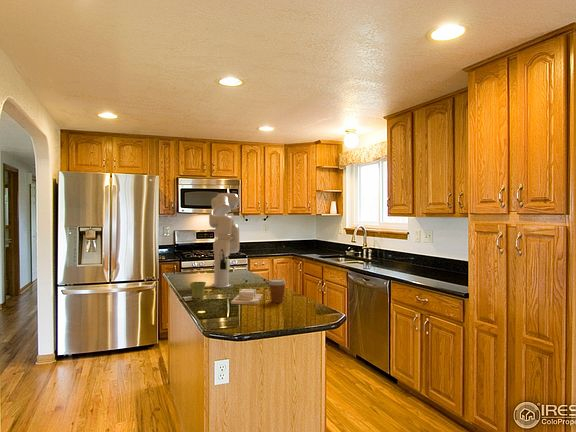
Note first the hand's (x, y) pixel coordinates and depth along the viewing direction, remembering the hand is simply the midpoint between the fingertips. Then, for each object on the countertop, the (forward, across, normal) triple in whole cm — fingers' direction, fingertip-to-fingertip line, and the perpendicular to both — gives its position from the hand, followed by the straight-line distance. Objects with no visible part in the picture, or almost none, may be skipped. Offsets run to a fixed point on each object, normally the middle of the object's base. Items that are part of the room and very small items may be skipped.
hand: (224, 268), depth 235 cm
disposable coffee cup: (+18, +5, +32) cm, 36 cm away
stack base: (+17, +4, +15) cm, 23 cm away
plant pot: (+18, +1, -15) cm, 23 cm away
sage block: (+1, 0, 0) cm, 1 cm away
